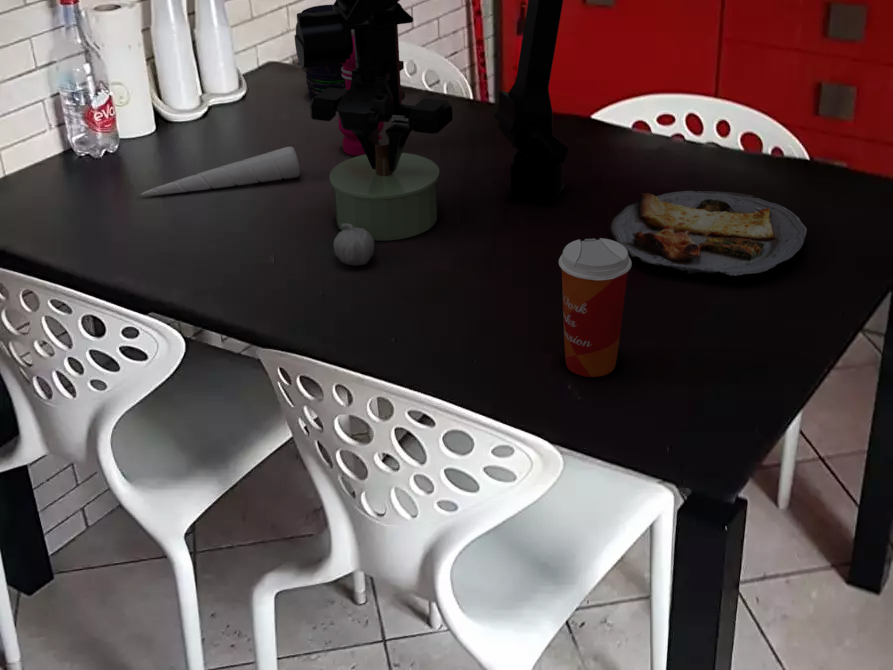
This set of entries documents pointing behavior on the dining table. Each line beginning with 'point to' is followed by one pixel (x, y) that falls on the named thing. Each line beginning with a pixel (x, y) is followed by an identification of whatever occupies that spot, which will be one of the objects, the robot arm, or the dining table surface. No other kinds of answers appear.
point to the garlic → (354, 245)
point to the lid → (384, 175)
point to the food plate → (709, 232)
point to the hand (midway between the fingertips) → (384, 169)
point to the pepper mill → (350, 140)
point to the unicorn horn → (238, 173)
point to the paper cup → (593, 303)
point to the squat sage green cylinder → (388, 214)
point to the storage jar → (323, 68)
